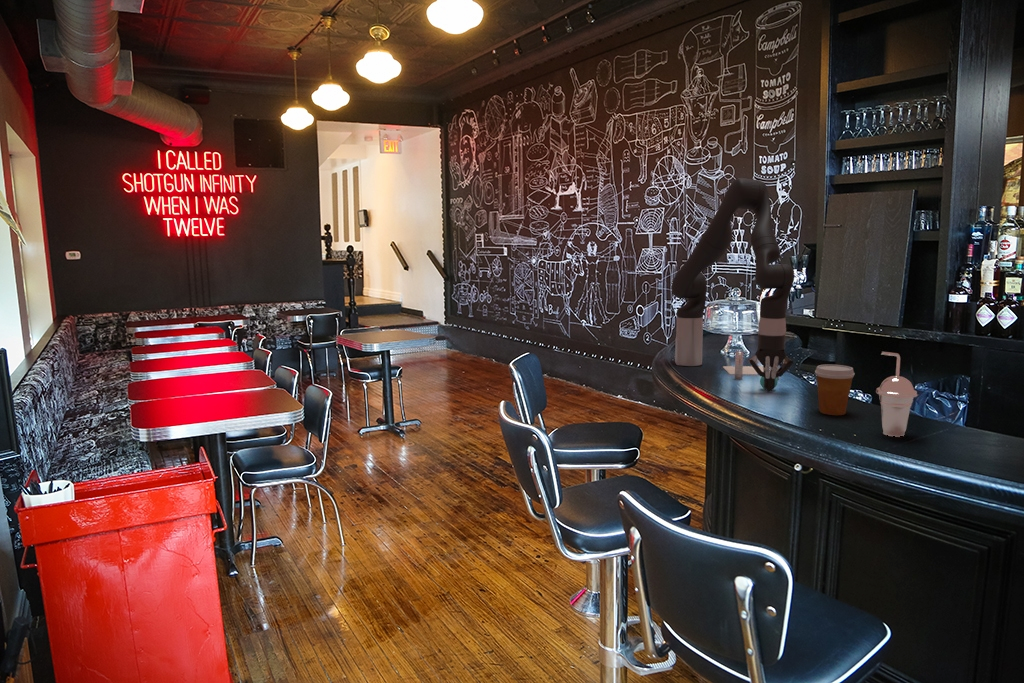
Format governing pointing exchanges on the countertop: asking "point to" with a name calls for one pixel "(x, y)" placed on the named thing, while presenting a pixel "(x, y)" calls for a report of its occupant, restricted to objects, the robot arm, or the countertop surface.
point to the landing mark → (746, 370)
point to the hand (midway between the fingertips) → (768, 390)
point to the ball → (763, 382)
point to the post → (738, 365)
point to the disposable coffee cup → (833, 388)
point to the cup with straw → (895, 401)
